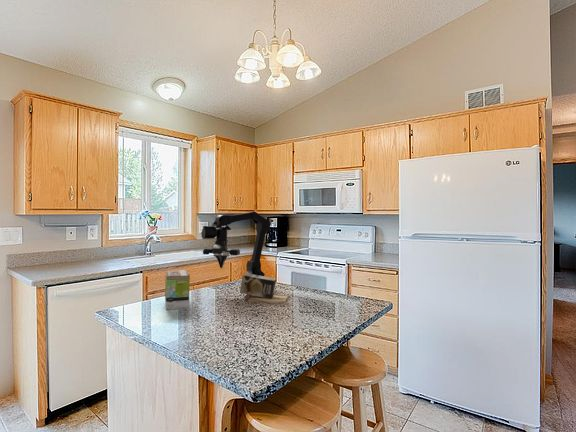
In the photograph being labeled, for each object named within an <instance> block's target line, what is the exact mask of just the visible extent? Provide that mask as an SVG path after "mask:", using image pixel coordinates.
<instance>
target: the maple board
mask: <svg viewBox="0 0 576 432" xmlns="http://www.w3.org/2000/svg"><path fill="white" fill-rule="evenodd" d="M287 298H288V299H289V294H274V295H273V297H272V299H269V298H264V297H259V296H254V295H252V296H251V297H250V298H249V299H248V301H247V302H249V303H263V304H264V303H265V304H266V303H267V304H282V303H285V304H286V302H287V301H288V299H287Z"/></svg>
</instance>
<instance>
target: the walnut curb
mask: <svg viewBox="0 0 576 432" xmlns="http://www.w3.org/2000/svg"><path fill="white" fill-rule="evenodd" d="M251 296H252V295H249V294H244V302H248V299H249V298H250V297H251Z"/></svg>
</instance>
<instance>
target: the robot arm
mask: <svg viewBox="0 0 576 432" xmlns="http://www.w3.org/2000/svg"><path fill="white" fill-rule="evenodd" d="M247 220H251V221H252V222H253V223H254V224H255V229H256V237H255V242H254V246H253V249H252V250H253V251H252V255H251V259H250V260H247V261H246V266H245V268H246V273H249V274H254V275H259V276H264V277H265V274H266V273H265V272H264V271H262V263H261V256H262V252H263V249H264V248H263V246H264V242H265V237H266V235H267V233H268V232H269V231H270V228H271V221H270V220H269V219H267V218H265V217H264V216H262V215H260V214H259V213H258V212H256V211H248V212H243V213H236V214H219V215H216V217H215V219H214V222H213V223H212V224H211V226H210V225H208V226H207V225H203V226H202V229H201V234H200V235H201V239H202V240H213V239H216V240H215V242H214V245H213V246H212V247H207V248H204V249H203V250H202V255H210V254H213V257H215V258H216V260H217V261H218V265H219V268H220V269H222V268H224V265H225V261H226V260H227V259H228V257H229V256H230V255H231V256H239V255H240V254H241V250H240V249H239V248H232V249H231V248H230V249H229V248H228V243H229V242H228V241H229V240H228V231H231V230H232V228H231V227H230V226H229V225H231V224H233V223H235V222H236V223H237V222H241V221H247Z"/></svg>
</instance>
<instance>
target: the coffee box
mask: <svg viewBox="0 0 576 432" xmlns="http://www.w3.org/2000/svg"><path fill="white" fill-rule="evenodd" d="M276 281H277V278H274V277H268V276H265V275H264V276H259V275H254V274H249V273H248V272H245V273H243V274H242V277H241V283H240V291H239V292H240V294H244V295H247V294H249V295H254V296H259V297H264V298H269V299H272V297H273V295H275V290H276V289H275V288H276Z"/></svg>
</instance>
